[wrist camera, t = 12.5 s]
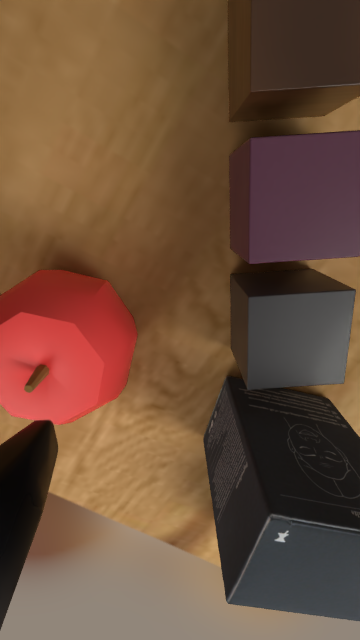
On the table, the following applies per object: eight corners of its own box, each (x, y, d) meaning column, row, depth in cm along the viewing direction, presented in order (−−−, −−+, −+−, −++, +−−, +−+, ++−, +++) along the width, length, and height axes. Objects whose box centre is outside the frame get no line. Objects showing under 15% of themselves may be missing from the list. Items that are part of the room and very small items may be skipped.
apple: (154, 366, 22) (145, 454, 14) (38, 383, 22) (-32, 478, 14) (131, 246, 19) (104, 276, 11) (-2, 267, 19) (-114, 309, 12)
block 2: (229, 248, 19) (248, 264, 14) (228, 154, 17) (249, 137, 13) (314, 243, 19) (360, 256, 14) (321, 148, 17) (377, 128, 13)
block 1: (228, 122, 17) (250, 92, 12) (227, -1, 15) (252, -91, 10) (324, 116, 17) (383, 83, 12) (334, -8, 15) (406, -102, 10)
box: (201, 438, 24) (223, 608, 14) (225, 372, 22) (269, 513, 12) (300, 458, 25) (387, 632, 15) (331, 396, 23) (454, 547, 13)
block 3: (230, 348, 21) (247, 390, 17) (230, 273, 20) (248, 296, 15) (306, 343, 21) (344, 383, 17) (312, 268, 20) (356, 289, 15)
